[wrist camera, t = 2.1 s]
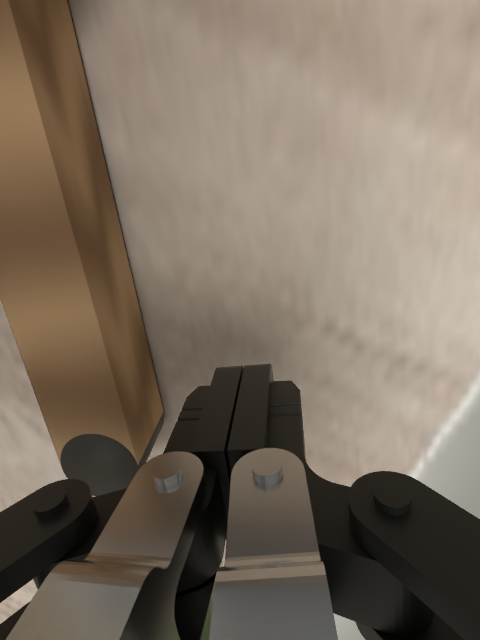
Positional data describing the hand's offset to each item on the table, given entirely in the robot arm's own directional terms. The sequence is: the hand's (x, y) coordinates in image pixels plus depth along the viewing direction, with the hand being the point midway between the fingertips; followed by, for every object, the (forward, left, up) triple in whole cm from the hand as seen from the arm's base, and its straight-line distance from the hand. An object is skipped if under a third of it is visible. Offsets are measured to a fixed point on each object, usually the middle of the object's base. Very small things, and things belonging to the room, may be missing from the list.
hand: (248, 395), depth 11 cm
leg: (-5, -7, -7) cm, 12 cm away
